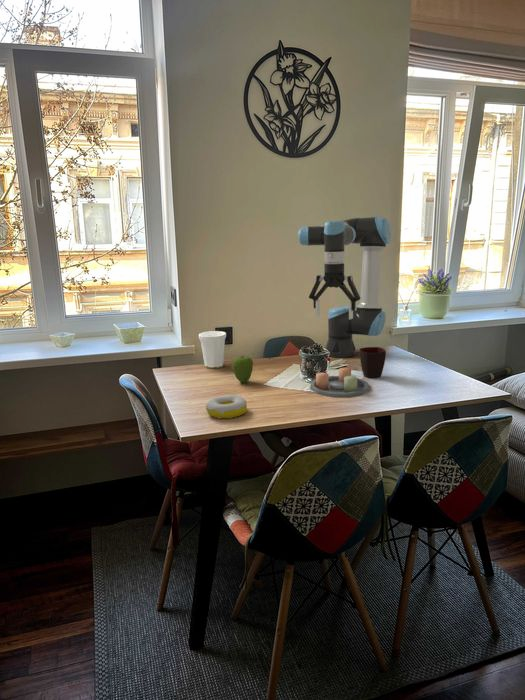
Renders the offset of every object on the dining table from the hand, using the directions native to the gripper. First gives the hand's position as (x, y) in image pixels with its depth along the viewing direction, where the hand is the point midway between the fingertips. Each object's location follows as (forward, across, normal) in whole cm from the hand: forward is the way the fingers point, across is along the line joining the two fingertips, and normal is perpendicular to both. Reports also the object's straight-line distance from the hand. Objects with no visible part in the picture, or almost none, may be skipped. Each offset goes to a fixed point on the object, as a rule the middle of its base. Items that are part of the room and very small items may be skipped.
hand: (334, 317), depth 197 cm
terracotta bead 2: (+26, +5, -2) cm, 26 cm away
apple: (+27, -34, -14) cm, 46 cm away
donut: (+26, -22, -46) cm, 58 cm away
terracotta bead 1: (+26, -1, -11) cm, 28 cm away
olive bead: (+26, +11, -11) cm, 30 cm away
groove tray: (+27, +5, -8) cm, 28 cm away
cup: (+27, -59, +2) cm, 65 cm away
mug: (+27, +11, +13) cm, 32 cm away
